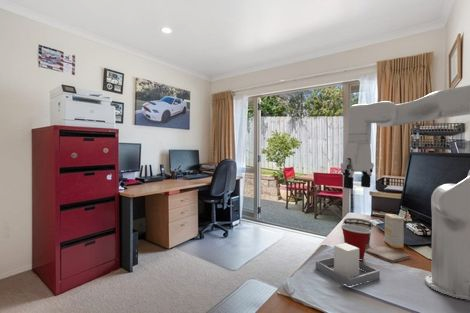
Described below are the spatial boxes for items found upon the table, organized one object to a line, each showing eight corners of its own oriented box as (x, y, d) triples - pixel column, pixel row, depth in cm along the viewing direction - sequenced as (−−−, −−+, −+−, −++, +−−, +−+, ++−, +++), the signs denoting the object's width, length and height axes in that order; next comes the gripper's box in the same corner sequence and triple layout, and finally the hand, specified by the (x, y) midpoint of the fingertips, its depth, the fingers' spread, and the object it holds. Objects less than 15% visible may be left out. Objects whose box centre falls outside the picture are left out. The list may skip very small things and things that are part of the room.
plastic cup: (378, 262, 90) (378, 230, 90) (352, 264, 88) (353, 232, 88) (357, 251, 101) (358, 222, 101) (334, 253, 99) (335, 223, 99)
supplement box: (404, 248, 104) (404, 218, 104) (391, 247, 105) (392, 217, 105) (395, 242, 112) (395, 213, 112) (384, 241, 113) (384, 213, 113)
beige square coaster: (410, 257, 95) (410, 255, 95) (392, 262, 90) (392, 260, 90) (382, 248, 105) (382, 245, 105) (365, 252, 100) (365, 249, 100)
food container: (371, 241, 113) (372, 219, 113) (373, 245, 108) (373, 223, 108) (343, 237, 119) (343, 216, 119) (342, 241, 113) (343, 219, 113)
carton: (359, 275, 81) (359, 248, 81) (347, 278, 78) (347, 251, 78) (345, 268, 86) (345, 242, 86) (333, 271, 83) (334, 245, 83)
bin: (379, 278, 79) (379, 270, 79) (349, 288, 73) (349, 279, 73) (343, 261, 91) (343, 254, 91) (315, 268, 85) (315, 261, 85)
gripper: (363, 141, 94) (362, 185, 94) (333, 139, 85) (331, 187, 86) (383, 140, 87) (381, 188, 87) (352, 138, 79) (351, 190, 79)
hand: (357, 187), depth 86 cm, fingers open, 9 cm apart
